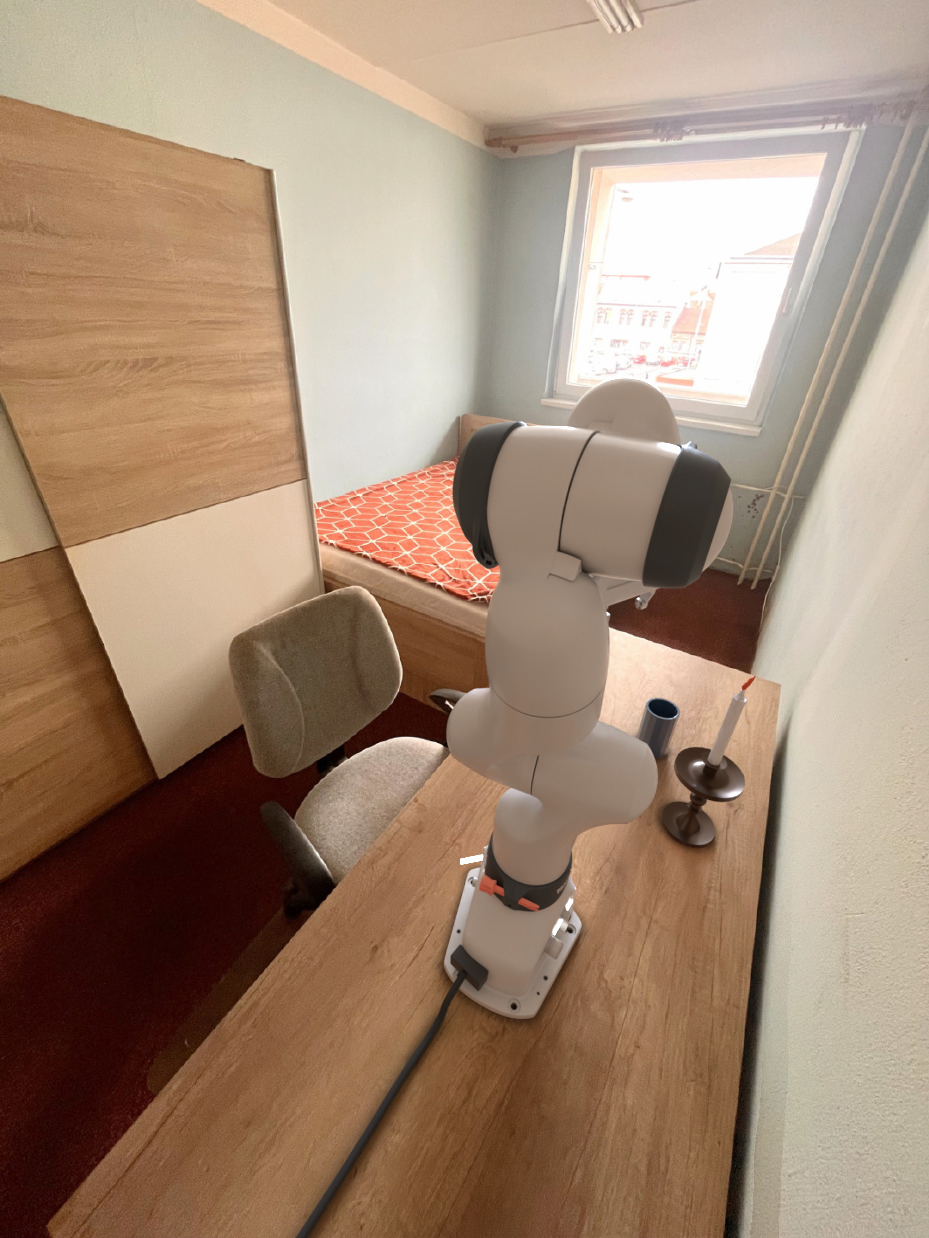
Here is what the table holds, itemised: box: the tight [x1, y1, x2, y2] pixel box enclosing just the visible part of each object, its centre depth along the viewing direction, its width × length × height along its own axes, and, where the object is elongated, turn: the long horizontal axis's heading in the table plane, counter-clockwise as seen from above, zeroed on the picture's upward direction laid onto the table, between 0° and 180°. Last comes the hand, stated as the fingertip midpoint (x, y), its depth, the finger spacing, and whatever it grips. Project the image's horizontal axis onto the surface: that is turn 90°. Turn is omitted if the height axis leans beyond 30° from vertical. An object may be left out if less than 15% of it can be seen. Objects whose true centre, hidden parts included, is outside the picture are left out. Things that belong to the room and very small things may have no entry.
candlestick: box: [660, 675, 756, 849], centre depth 83 cm, size 11×11×35 cm
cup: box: [636, 697, 681, 760], centre depth 106 cm, size 7×7×11 cm
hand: (621, 614), depth 96 cm, fingers open, 8 cm apart
